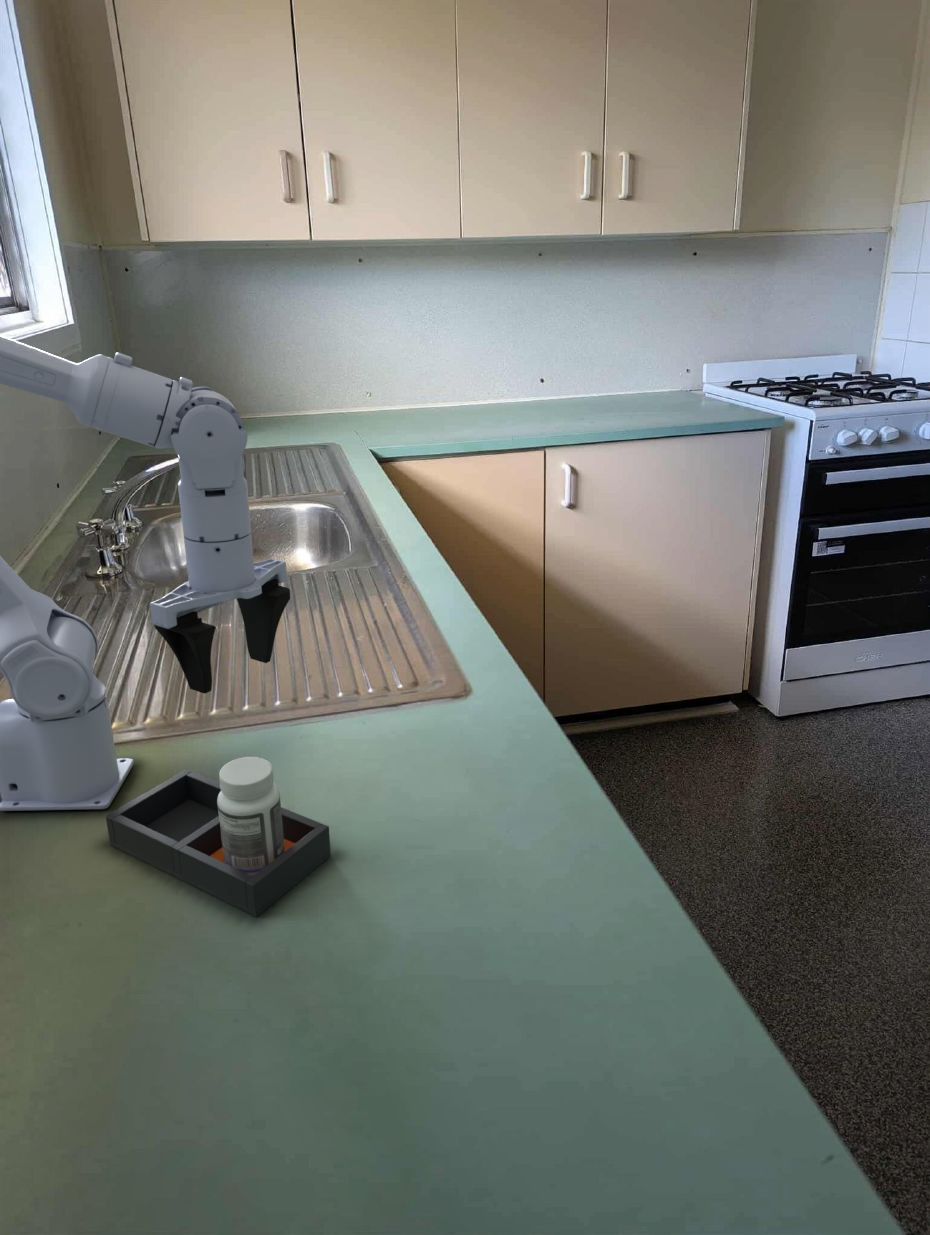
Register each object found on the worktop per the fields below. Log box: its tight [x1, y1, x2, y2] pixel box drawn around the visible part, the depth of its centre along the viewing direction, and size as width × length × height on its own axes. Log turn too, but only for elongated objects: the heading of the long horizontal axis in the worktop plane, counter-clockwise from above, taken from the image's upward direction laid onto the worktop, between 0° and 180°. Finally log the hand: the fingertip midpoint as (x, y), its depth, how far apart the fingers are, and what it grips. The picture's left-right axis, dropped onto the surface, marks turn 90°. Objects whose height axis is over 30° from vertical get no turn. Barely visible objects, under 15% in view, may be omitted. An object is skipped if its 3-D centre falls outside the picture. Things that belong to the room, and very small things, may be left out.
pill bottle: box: [217, 756, 285, 876], centre depth 68 cm, size 5×5×8 cm
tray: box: [105, 768, 332, 918], centre depth 71 cm, size 16×9×3 cm, turn 59°
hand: (231, 674), depth 81 cm, fingers open, 7 cm apart
